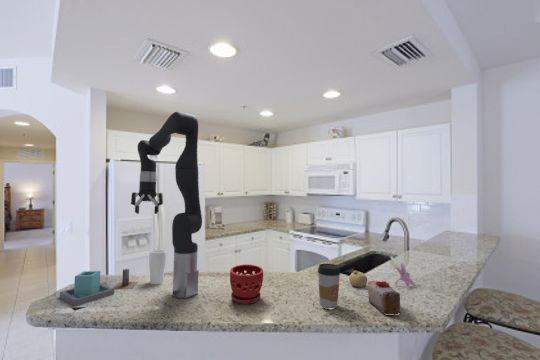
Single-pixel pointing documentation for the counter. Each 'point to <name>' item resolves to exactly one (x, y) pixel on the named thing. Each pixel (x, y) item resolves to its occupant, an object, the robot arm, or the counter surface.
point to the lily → (405, 276)
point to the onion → (358, 279)
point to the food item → (384, 297)
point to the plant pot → (246, 283)
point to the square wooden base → (125, 281)
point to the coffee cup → (328, 285)
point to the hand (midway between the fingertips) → (146, 213)
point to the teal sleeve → (87, 283)
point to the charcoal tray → (75, 301)
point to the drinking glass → (157, 266)
